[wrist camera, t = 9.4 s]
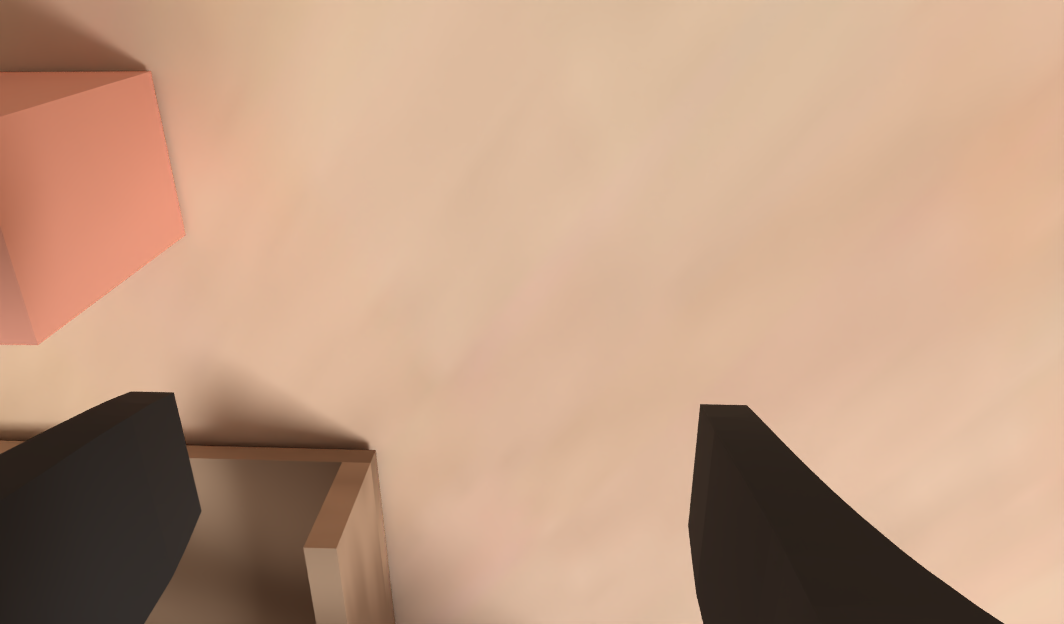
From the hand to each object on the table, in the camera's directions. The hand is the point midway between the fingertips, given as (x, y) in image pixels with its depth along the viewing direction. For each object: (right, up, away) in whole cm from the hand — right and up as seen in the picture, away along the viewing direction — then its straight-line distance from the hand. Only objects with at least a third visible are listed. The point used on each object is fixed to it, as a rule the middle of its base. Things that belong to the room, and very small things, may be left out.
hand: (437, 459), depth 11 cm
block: (-9, +6, +8) cm, 14 cm away
